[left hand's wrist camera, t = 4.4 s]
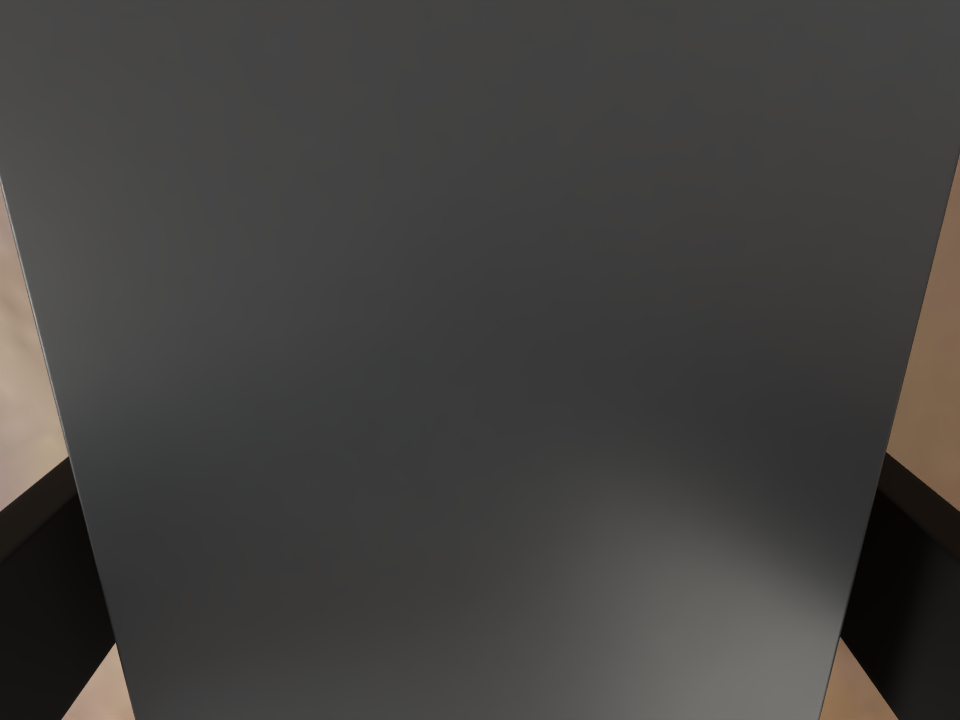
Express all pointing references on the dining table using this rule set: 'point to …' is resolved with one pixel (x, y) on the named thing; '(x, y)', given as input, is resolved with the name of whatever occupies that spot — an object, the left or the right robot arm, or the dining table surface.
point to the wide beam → (477, 338)
